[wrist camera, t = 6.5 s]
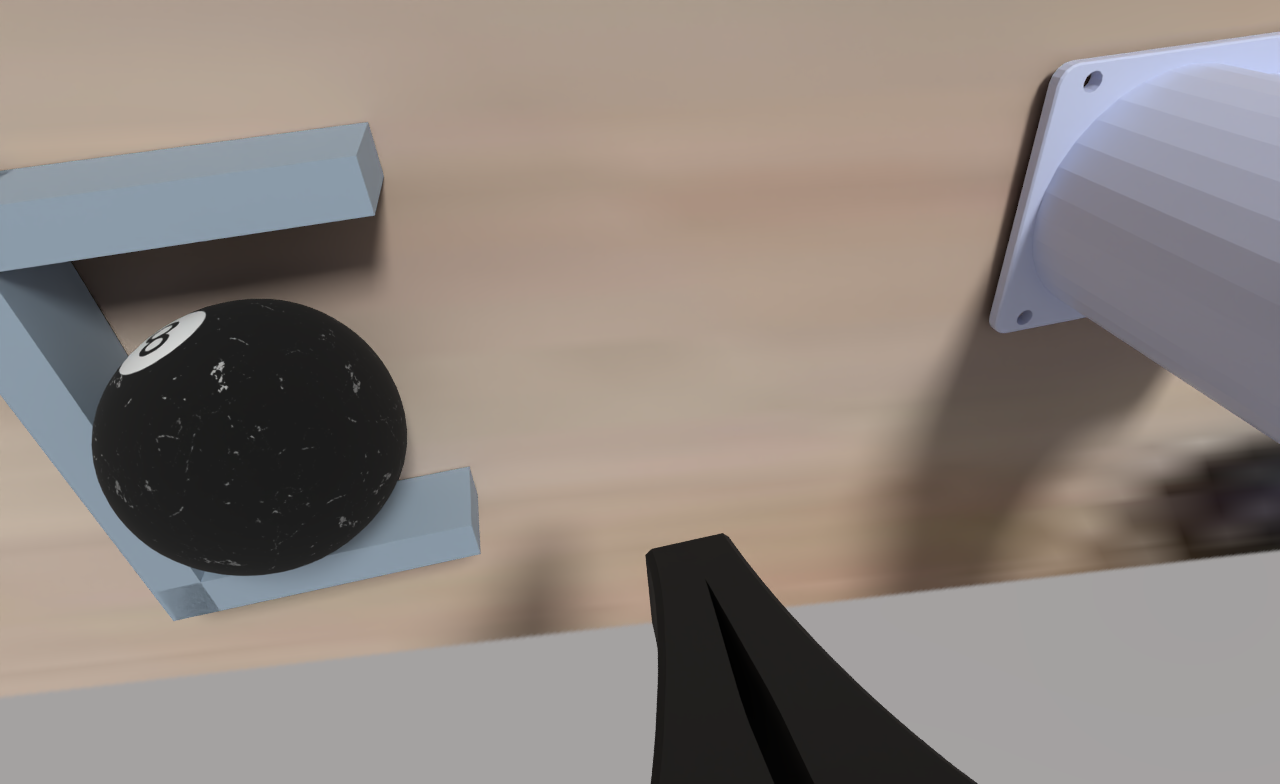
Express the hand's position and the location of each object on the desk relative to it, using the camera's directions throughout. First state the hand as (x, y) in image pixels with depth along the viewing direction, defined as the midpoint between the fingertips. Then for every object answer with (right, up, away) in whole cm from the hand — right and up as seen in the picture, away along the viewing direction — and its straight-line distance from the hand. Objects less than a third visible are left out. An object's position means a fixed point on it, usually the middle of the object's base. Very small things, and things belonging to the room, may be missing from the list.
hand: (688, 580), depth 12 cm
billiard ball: (-10, +4, +7) cm, 13 cm away
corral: (-10, +4, +6) cm, 13 cm away
